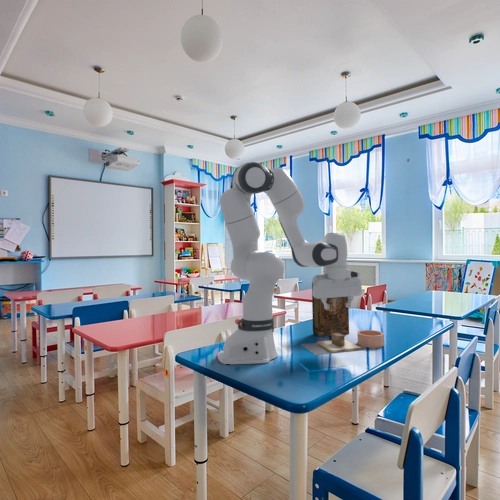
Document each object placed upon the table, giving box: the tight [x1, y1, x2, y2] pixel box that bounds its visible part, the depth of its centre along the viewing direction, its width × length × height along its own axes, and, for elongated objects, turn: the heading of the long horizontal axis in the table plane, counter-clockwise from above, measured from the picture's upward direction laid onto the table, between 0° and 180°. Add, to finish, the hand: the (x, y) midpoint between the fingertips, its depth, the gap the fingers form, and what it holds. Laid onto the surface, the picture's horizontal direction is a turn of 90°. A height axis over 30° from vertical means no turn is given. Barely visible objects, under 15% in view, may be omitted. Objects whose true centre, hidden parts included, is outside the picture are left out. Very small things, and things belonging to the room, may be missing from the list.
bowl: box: [356, 329, 385, 349], centre depth 141 cm, size 10×10×5 cm
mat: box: [300, 342, 364, 356], centre depth 138 cm, size 20×15×1 cm
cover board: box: [315, 333, 363, 354], centre depth 138 cm, size 13×13×5 cm
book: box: [311, 280, 350, 338], centre depth 159 cm, size 16×6×25 cm, turn 105°
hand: (337, 308), depth 138 cm, fingers open, 8 cm apart
